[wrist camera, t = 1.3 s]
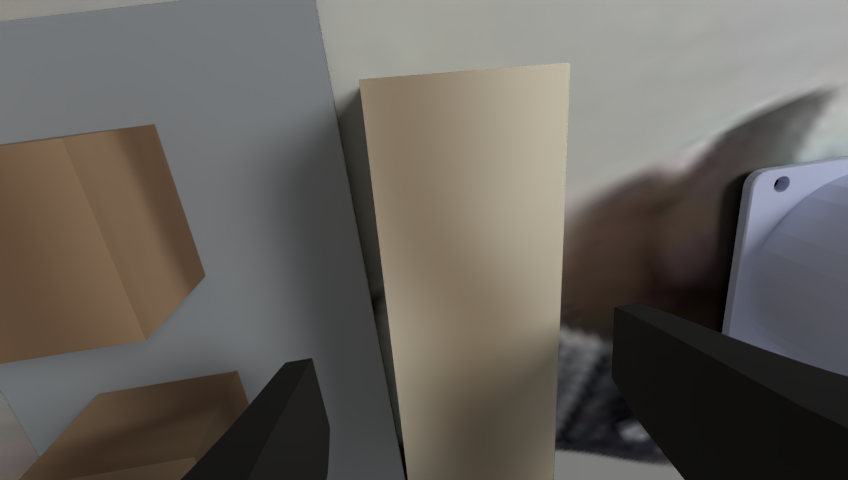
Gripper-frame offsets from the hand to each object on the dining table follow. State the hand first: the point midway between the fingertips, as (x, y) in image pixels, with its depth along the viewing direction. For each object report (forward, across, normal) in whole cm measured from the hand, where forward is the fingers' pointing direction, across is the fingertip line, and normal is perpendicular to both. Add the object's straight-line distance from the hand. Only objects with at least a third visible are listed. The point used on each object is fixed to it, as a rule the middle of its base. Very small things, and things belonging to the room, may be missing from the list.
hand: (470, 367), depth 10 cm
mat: (+4, +8, 0) cm, 9 cm away
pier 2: (+4, +9, +4) cm, 11 cm away
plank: (+5, 0, 0) cm, 5 cm away
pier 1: (+4, +9, -4) cm, 11 cm away
